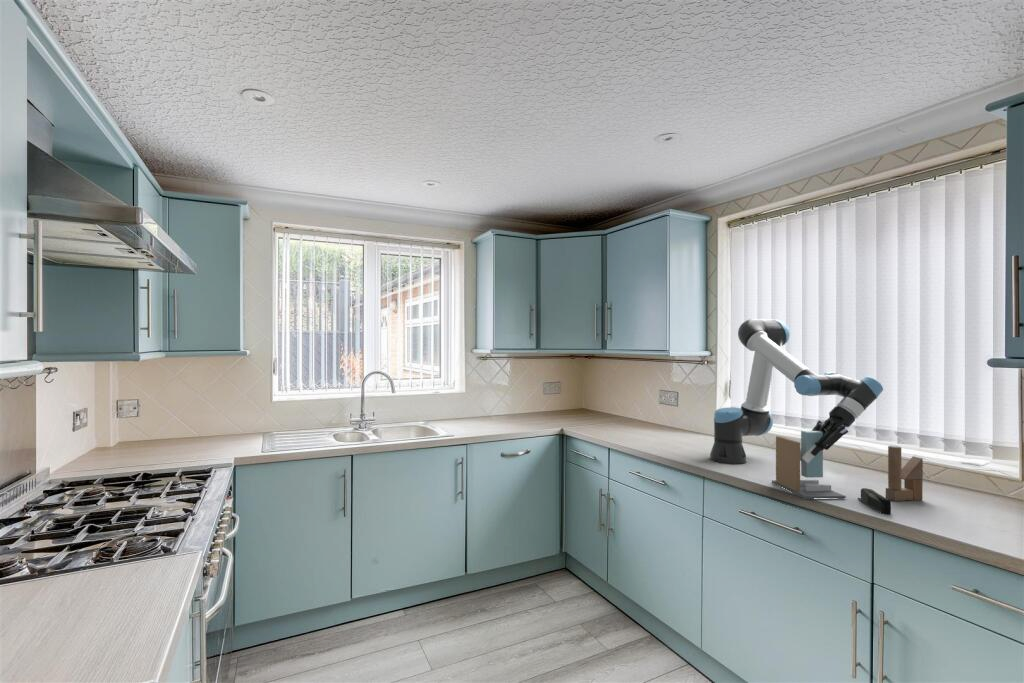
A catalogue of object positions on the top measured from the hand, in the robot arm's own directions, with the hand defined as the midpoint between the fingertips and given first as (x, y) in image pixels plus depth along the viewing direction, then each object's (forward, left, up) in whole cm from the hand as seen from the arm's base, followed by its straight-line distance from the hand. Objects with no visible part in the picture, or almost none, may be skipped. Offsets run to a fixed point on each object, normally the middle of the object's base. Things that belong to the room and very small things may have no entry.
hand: (801, 459), depth 177 cm
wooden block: (+11, +29, -12) cm, 33 cm away
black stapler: (+18, +12, -12) cm, 25 cm away
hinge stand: (0, +2, -11) cm, 12 cm away
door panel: (0, +4, -6) cm, 7 cm away
